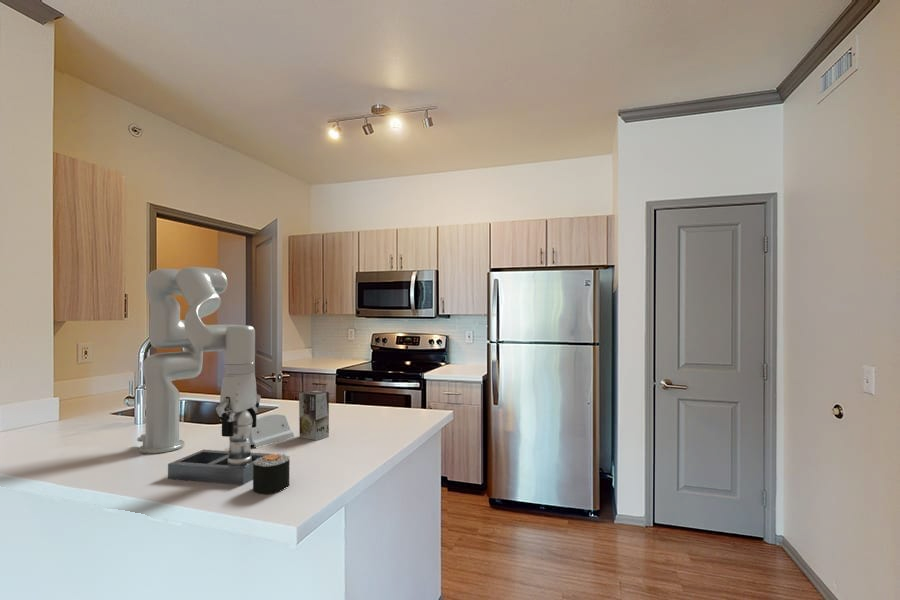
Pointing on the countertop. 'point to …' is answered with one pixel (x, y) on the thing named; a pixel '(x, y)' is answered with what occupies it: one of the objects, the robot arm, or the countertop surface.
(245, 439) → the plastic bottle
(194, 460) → the tray
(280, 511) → the countertop surface
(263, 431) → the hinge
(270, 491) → the sushi
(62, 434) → the countertop surface
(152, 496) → the countertop surface
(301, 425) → the coffee box
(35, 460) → the countertop surface
